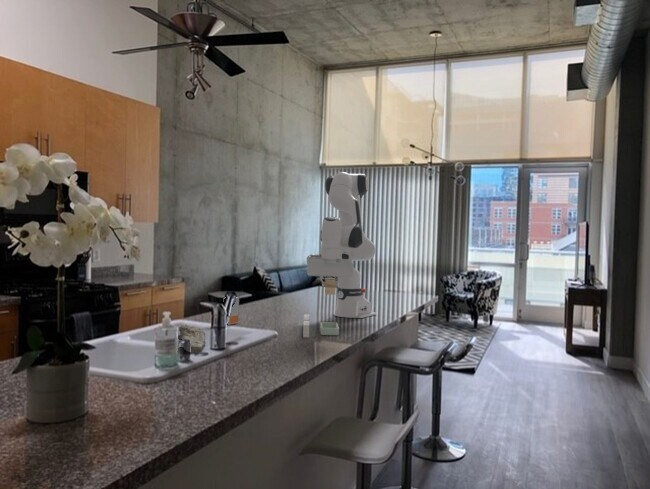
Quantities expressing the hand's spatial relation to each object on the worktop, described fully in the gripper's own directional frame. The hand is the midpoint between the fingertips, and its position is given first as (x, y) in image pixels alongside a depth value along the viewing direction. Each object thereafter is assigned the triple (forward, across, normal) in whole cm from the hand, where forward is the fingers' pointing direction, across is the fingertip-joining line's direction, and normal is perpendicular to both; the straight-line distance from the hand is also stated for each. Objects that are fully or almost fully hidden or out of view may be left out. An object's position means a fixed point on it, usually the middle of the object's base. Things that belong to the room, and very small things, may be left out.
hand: (330, 287), depth 223 cm
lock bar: (+3, 0, 0) cm, 3 cm away
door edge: (+19, -10, +1) cm, 22 cm away
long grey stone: (+20, -53, -24) cm, 62 cm away
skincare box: (+19, -44, +14) cm, 50 cm away
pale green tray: (+19, 0, 0) cm, 19 cm away
